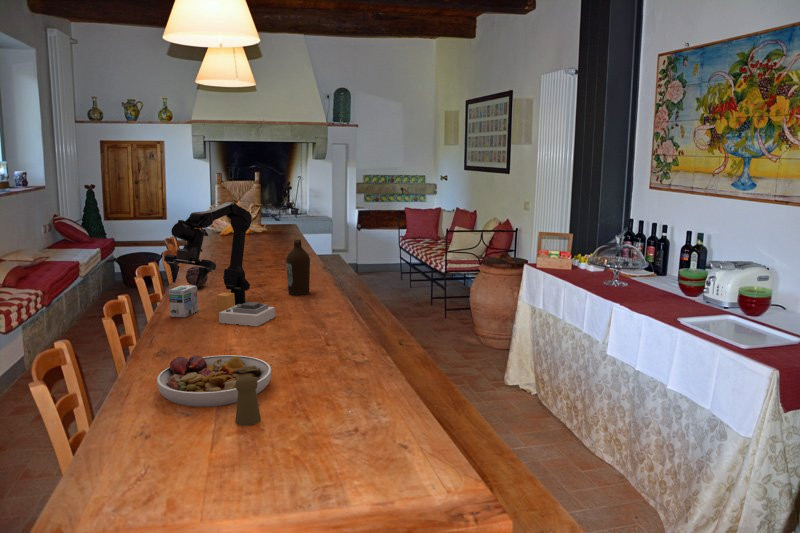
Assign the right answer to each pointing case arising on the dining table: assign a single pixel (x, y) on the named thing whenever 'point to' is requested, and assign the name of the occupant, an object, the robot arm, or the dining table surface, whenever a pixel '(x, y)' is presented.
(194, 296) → the light bulb box
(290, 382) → the dining table surface
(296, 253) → the olive oil
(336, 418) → the dining table surface
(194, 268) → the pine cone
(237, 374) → the bowl
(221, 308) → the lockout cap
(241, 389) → the salt shaker
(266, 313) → the white recessed base box
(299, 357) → the dining table surface
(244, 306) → the breaker switch
